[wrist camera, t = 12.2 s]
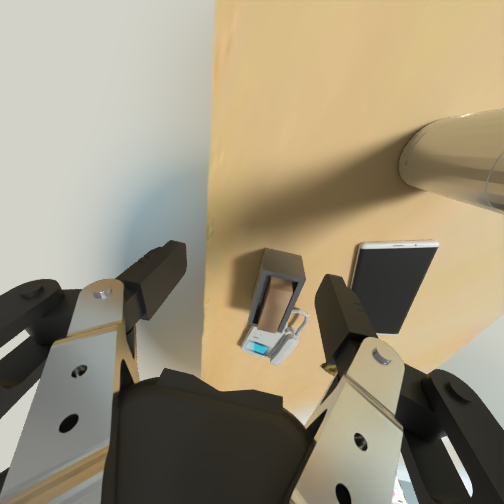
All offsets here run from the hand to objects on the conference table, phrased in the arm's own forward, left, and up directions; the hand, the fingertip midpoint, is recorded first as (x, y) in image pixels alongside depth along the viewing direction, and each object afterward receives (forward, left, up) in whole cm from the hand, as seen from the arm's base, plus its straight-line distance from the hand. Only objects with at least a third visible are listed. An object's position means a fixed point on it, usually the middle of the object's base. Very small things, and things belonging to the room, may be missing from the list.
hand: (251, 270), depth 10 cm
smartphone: (-30, +18, -27) cm, 44 cm away
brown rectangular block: (-6, +21, -21) cm, 30 cm away
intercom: (-10, +38, -26) cm, 48 cm away
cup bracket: (-6, +21, -26) cm, 34 cm away
